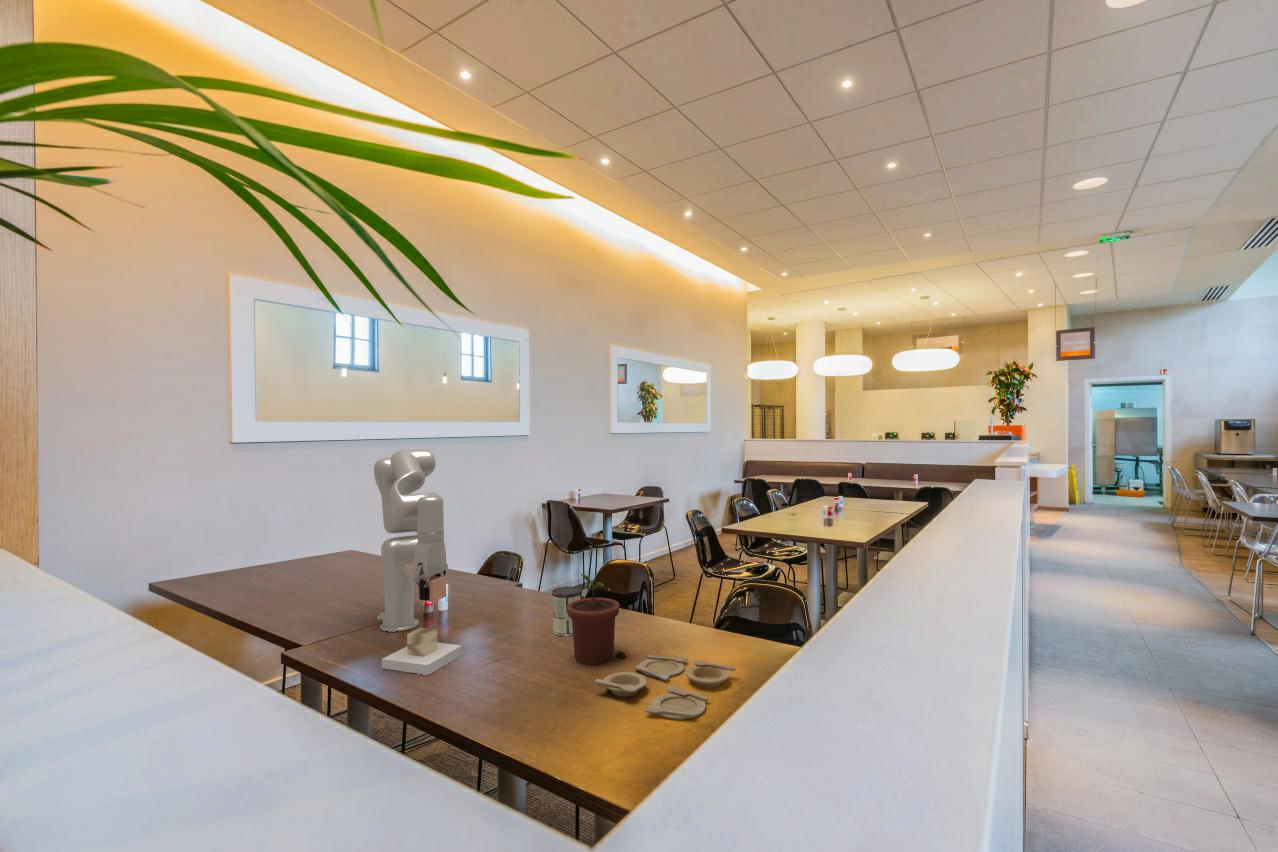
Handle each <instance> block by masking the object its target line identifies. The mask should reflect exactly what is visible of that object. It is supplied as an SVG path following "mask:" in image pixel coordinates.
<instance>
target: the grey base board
mask: <svg viewBox="0 0 1278 852" xmlns="http://www.w3.org/2000/svg"><path fill="white" fill-rule="evenodd" d="M462 647H463V645H461V644H460V645H459V644H452V643H443V642H437V650H436V651H434V652H432V653H430V654H429V655H427V656H425V657H422V656H414V655H408V649H407V646H404V647H402V648H401V649H398V650H397V651H395V652H392V653H391V654H389V655H387V656H385V657H383V658H381V669H382V668H385V669H391V670H398V671H404V672H412V673H417V674H416V675H419V674H423V675H422V676H426V675H428V674H430V673H431V674H433V673H435V672H436V671H438V670H439V668H440V669H441V668H443V667H445V666H446V665H448V664H450V663H451V662H453V661H455V660H456V659H458V658H460V657H461V656H462V653H463V651H462V650H463V649H462ZM449 662H450V663H449ZM444 665H445V666H444ZM442 666H443V667H442ZM437 669H438V670H437ZM435 670H436V671H435ZM434 671H435V672H434ZM404 672H403V673H404ZM432 672H433V673H432ZM431 674H430V675H431ZM428 676H429V675H428Z"/></svg>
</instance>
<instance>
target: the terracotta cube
mask: <svg viewBox="0 0 1278 852" xmlns="http://www.w3.org/2000/svg"><path fill="white" fill-rule="evenodd" d="M423 581H424V582H425V578H423ZM428 587H429V596H430V599H429V600H420V599H419V587H418V584H417V583H416V601H417V602H427V603H429V602H430V603H436V602H438V601H439V600H441V599H444V598H446V597H447V576H444V577H441V576H434V575H433V576H431V577H430V578H429V583H428Z"/></svg>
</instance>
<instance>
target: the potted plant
mask: <svg viewBox="0 0 1278 852" xmlns="http://www.w3.org/2000/svg"><path fill="white" fill-rule="evenodd" d="M580 576H582V578H583V579H585V581H587V582H588V583H589V584H590V585H591V587H592V592H591V593H592V597H585V598H582V599H579V600H576V601H573V602H571V603H569V604H568V605H567V610H568V616H569V618H571V619H572V628H573V636H572V638H573V650H574V660H576V661H575V662H577V663H578V662H579V664H580V663H581V665H584V664H585V666H600V665H605V664H607V663H609V662H611V661H612V660H613V659H614V651H615V629H616V628H615V627H616V617H618V615H619V614H620V613H619V612H620V603H619V601H617V600H616V599H612V598H607V597H606V598H605V597H595V588H604V587H605V584H603V583H602V582H599V581H598V582H596V585H594V584H593V582H592V581H591V577H589V576H588V575H587V574H584V573H580ZM615 655H616V656H615V658H616V659H617V660H620V659H621V660H623V659H626V658H627V654H626V653H625V652H623V651H621V650H619V651H618V652H617V653H616V654H615Z"/></svg>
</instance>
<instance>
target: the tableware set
mask: <svg viewBox="0 0 1278 852" xmlns="http://www.w3.org/2000/svg"><path fill="white" fill-rule="evenodd" d="M646 656H647V657H646V658H647V659H645V660H643V661H641V662H640V663H639V664H638V665H635V666H634V669H635V670H636V671H639V672H640V673H641V674H639V673H636V672H627V671H626V672H625V671H623V672H622V671H621V672H615V673H611V674H609V675H607V676H605V677H604V678H603V679H598V678H596V679H594V684H596V685H600V686H603V687H605V688H606V689H608V690H610V691H611V693H612V694H613V695H614V694H615V695H614V696H616V695H617V697H620V696H629V697H632V696H631V695H633V696H635V695H637V694H636V693H638V692H639V690H642V689H643V688H645V686H646V685H647V680H648V679H647V678H646V677H645V676H649V677H653V678H658V679H660V680H663V681H666V682H667V681H669V679H670V678H672V677H675V676H678V675H680V674H682V673H683V672H684V671H685V665H684V663H687V661H688V660H689V658H688V657H682V656H680V657H679V656H677V657H676V656H675V657H669V656H661V655H654V654H648V655H646ZM693 664H694V665H693V666H692V667H689V668H688V669H687V670H686V673H685V675H686V678H688V679H689V680H690V681H692V682H694V684H695V685H696V686H698V687H700V688H705V689H706V688H707V689H713V688H717V687H719V686H721V683H723V682H725V681H726V680H728V679H729V677H730V673H729V671H730V672H732V671H735V670H736V666H733V665H727V664H720V663H719V664H717V663H711V662H708V661H707V660H703V659H698V660H697V659H696V660H693ZM642 674H644V675H645V676H644V675H642ZM666 691H668V692H669V693H664V694H661V695H658V696H657V697H655V698H653V700H652V701H651V702H650V703H651V704H649V705H647V707H646V709H645V710H644V712H645V713H649V714H653V715H657V716H660V717H663V718H667V719H671V720H690V719H694V718H697V717H700V716H701V715H703V714H704V713H705V712H706V708H707V705H706V702H708V701H709V697H708V696H706V695H703V694H699V693H696V692H693V691H690V690H686V689H683V688H679V687H676V686H673V685H669V686H667V688H666ZM634 694H635V695H634ZM699 715H700V716H699Z"/></svg>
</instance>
